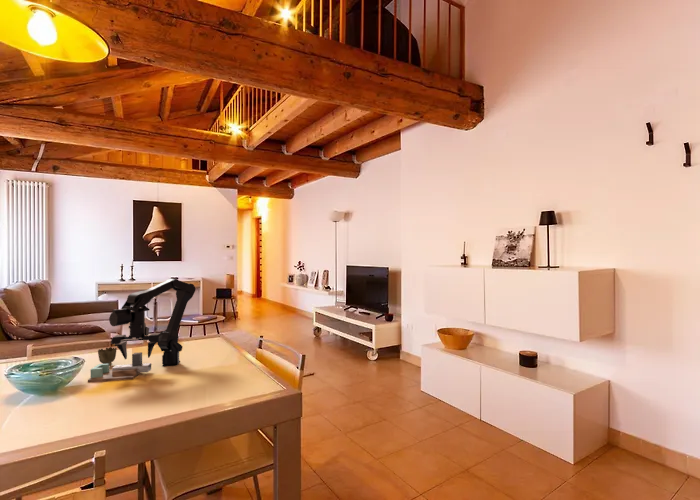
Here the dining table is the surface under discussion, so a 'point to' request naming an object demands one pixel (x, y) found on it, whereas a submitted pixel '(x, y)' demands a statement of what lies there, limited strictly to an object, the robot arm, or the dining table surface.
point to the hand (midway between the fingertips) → (137, 358)
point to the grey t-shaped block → (135, 364)
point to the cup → (107, 355)
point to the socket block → (99, 370)
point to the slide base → (116, 375)
